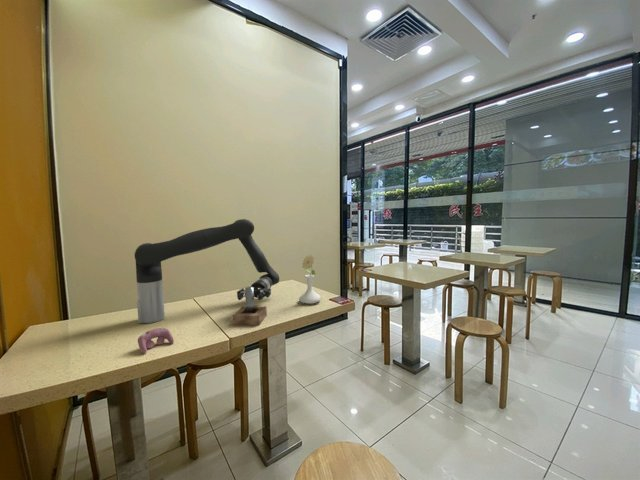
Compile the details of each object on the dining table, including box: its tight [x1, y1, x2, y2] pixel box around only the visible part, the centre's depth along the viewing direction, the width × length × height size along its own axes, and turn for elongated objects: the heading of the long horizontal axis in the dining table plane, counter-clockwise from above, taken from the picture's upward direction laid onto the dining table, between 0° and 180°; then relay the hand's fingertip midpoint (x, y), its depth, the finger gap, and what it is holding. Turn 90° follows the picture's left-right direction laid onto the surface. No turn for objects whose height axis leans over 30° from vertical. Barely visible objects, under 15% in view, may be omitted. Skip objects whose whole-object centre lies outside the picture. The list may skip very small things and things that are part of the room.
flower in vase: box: [298, 254, 322, 305], centre depth 132 cm, size 13×11×25 cm
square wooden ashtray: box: [232, 305, 268, 326], centre depth 111 cm, size 11×11×4 cm
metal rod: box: [244, 286, 255, 313], centre depth 111 cm, size 4×4×14 cm
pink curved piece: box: [137, 327, 175, 355], centre depth 89 cm, size 10×5×7 cm, turn 142°
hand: (249, 297), depth 110 cm, fingers open, 8 cm apart
